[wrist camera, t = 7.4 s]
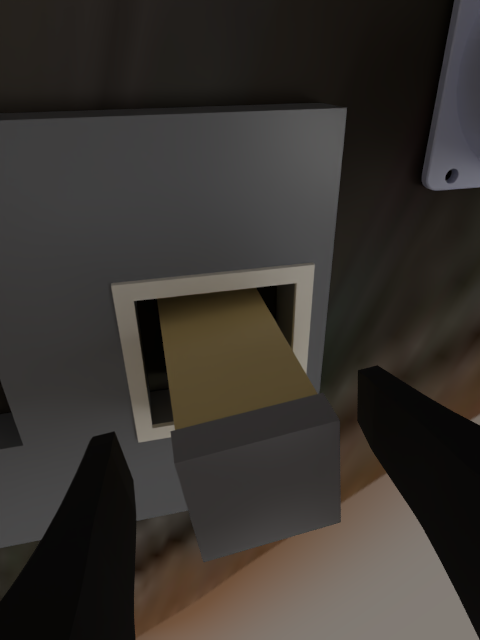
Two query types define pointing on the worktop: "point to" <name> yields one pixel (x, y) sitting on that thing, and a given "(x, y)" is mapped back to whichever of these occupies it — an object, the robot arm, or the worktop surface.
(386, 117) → the worktop surface
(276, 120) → the socket panel
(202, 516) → the plug
